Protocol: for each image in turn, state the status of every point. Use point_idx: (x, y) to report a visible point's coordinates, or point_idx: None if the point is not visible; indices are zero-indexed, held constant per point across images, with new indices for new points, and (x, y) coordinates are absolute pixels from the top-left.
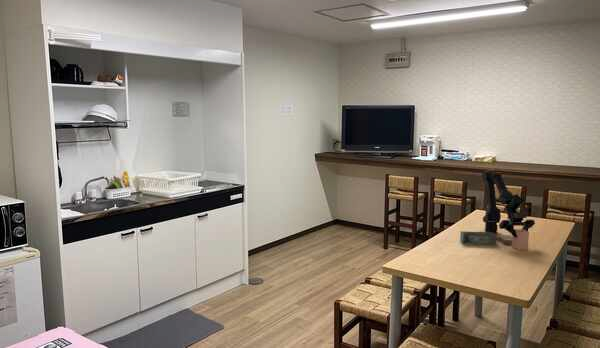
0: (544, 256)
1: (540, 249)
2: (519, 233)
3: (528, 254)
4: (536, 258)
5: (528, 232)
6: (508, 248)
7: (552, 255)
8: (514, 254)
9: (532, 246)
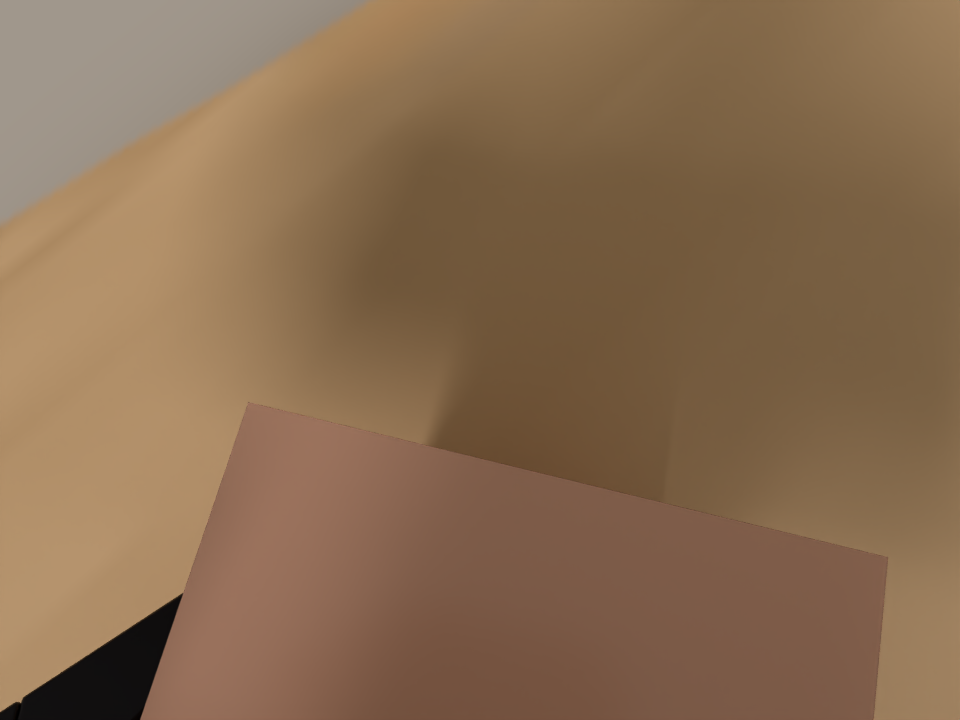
0: (448, 63)
1: (150, 402)
2: (803, 540)
3: (653, 223)
4: (675, 20)
5: (290, 413)
6: None
7: (266, 68)
8: (949, 302)
9: None
